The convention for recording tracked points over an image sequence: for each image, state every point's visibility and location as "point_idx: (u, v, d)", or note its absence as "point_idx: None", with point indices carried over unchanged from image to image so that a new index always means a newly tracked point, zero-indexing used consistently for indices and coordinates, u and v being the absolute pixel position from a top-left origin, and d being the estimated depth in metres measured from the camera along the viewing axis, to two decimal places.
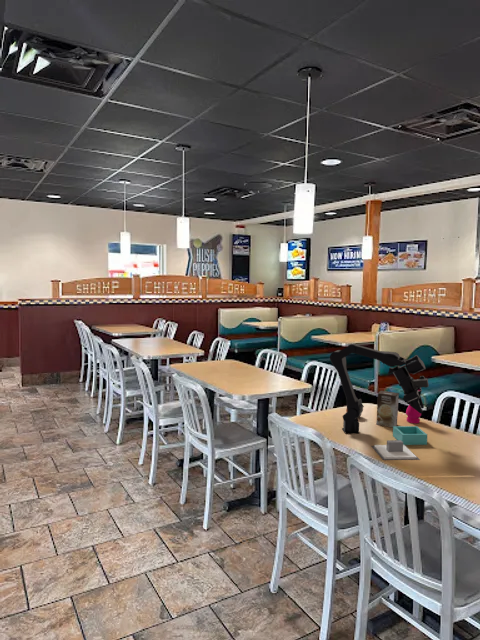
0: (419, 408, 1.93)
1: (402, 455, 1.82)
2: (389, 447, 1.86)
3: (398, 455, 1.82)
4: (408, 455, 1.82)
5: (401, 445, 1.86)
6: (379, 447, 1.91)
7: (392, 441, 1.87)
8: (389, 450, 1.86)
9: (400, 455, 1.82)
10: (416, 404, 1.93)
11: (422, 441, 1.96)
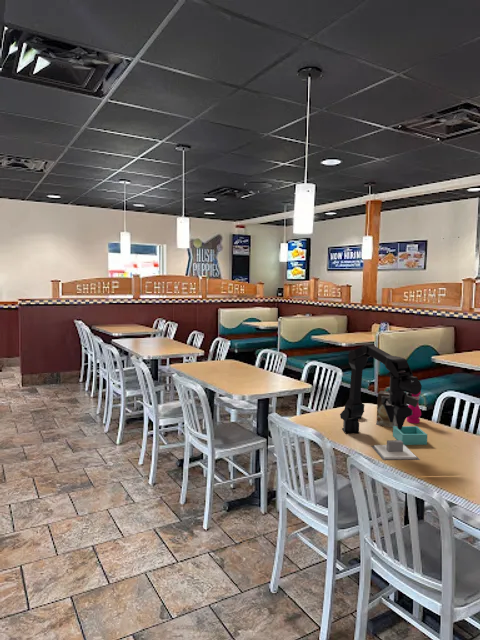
0: (401, 424, 1.81)
1: (402, 455, 1.82)
2: (389, 447, 1.86)
3: (398, 455, 1.82)
4: (408, 455, 1.82)
5: (401, 445, 1.86)
6: (379, 447, 1.91)
7: (392, 441, 1.87)
8: (389, 450, 1.86)
9: (400, 455, 1.82)
10: (401, 420, 1.80)
11: (422, 441, 1.96)
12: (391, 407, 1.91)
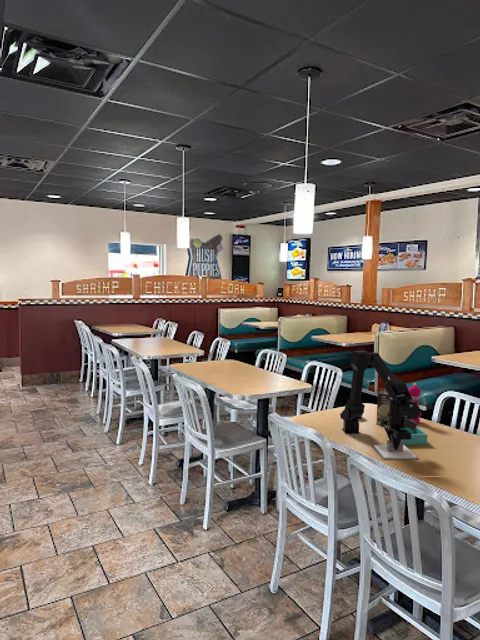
0: (397, 445, 1.85)
1: (402, 455, 1.82)
2: (389, 447, 1.86)
3: (398, 455, 1.82)
4: (408, 455, 1.82)
5: (401, 445, 1.86)
6: (379, 447, 1.91)
7: None
8: (389, 450, 1.86)
9: (400, 455, 1.82)
10: (397, 440, 1.84)
11: (422, 441, 1.96)
12: (393, 432, 1.89)
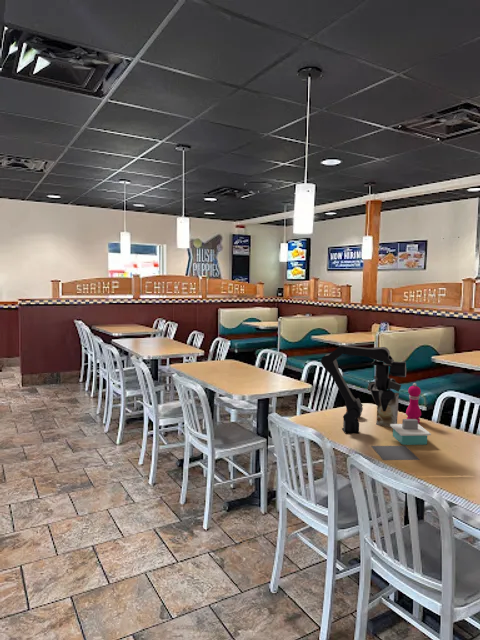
0: (385, 407, 2.02)
1: (417, 432, 1.96)
2: (405, 425, 2.00)
3: (413, 432, 1.96)
4: (423, 432, 1.96)
5: (416, 423, 2.00)
6: (395, 425, 2.05)
7: (407, 420, 2.01)
8: (405, 428, 2.00)
9: (415, 432, 1.96)
10: (385, 402, 2.01)
11: (422, 441, 1.96)
12: (377, 392, 2.12)
